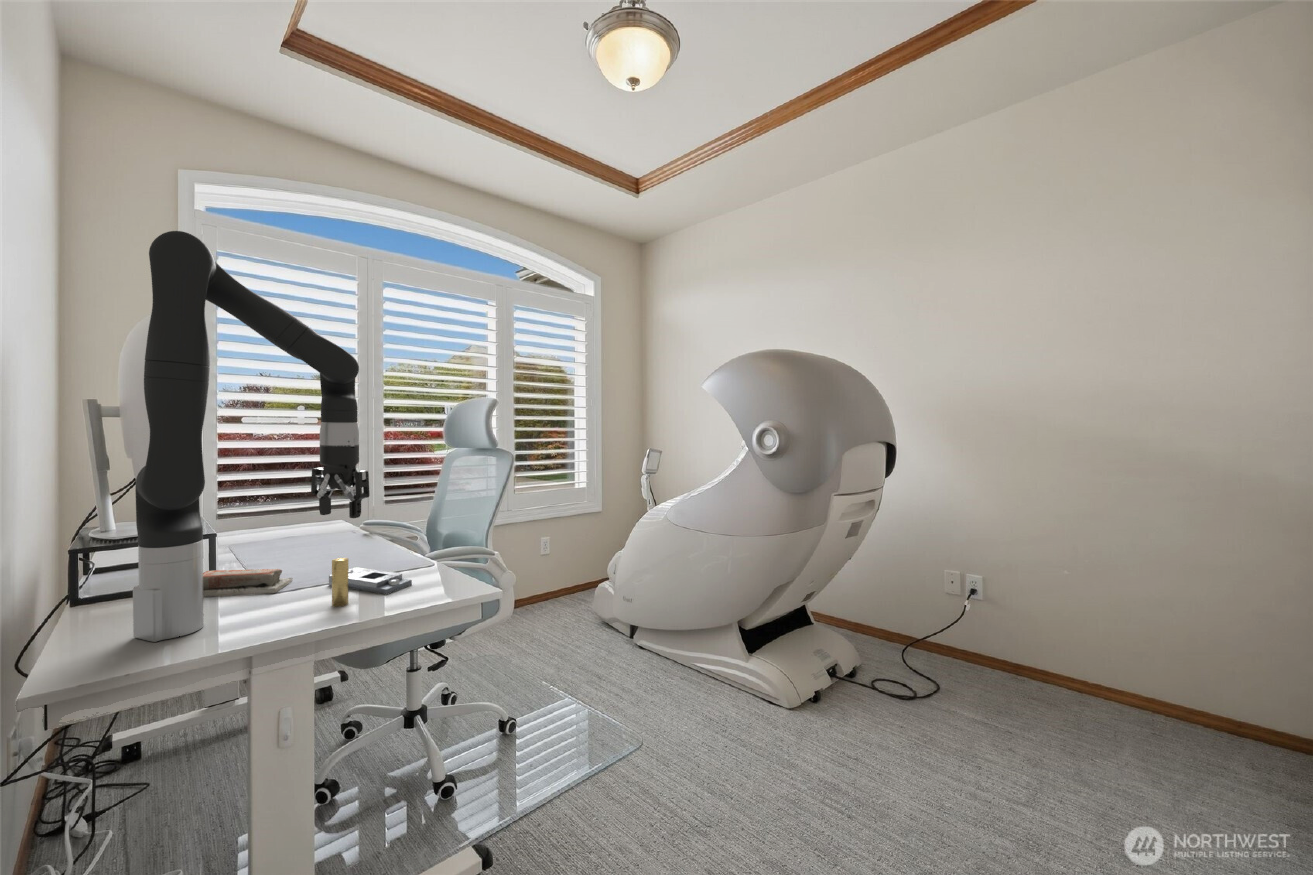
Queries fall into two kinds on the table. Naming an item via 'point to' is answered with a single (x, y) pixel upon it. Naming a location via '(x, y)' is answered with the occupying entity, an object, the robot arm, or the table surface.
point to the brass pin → (339, 582)
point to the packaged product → (243, 582)
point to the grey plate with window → (374, 580)
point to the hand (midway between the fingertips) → (340, 516)
